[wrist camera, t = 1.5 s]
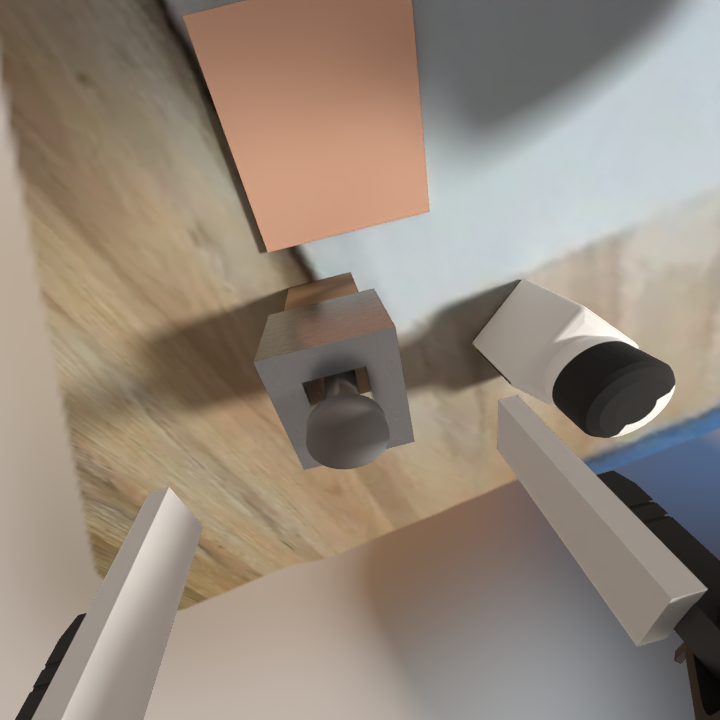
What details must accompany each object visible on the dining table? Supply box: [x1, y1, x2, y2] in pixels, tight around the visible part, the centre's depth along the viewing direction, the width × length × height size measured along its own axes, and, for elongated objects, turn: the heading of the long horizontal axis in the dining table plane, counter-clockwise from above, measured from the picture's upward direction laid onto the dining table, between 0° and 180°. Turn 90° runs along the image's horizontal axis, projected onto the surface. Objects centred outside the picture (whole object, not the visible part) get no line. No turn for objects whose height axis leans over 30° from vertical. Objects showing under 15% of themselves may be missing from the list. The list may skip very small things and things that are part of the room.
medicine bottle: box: [472, 279, 675, 438], centre depth 24 cm, size 7×7×12 cm
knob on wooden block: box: [284, 272, 390, 469], centre depth 20 cm, size 5×8×14 cm, turn 12°
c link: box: [253, 289, 415, 470], centre depth 19 cm, size 8×7×6 cm
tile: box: [183, 0, 430, 252], centre depth 19 cm, size 12×12×1 cm
